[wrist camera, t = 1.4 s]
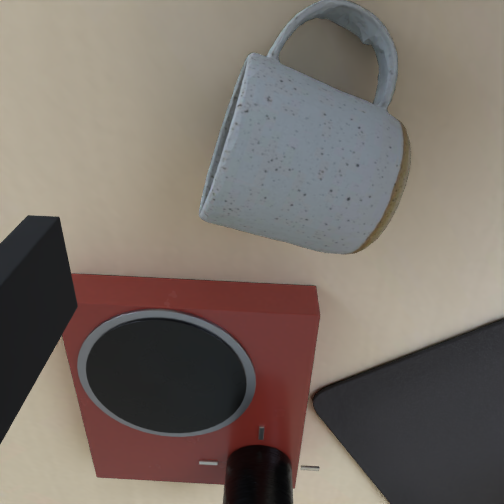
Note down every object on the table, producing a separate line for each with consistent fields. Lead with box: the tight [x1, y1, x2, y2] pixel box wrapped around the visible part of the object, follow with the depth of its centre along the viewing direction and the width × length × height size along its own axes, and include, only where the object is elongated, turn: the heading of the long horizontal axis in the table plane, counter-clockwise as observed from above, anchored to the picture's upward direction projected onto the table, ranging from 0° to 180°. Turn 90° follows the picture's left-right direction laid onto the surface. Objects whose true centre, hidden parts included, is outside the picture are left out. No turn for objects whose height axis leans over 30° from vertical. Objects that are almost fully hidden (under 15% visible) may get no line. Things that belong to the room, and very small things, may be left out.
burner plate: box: [77, 309, 256, 437], centre depth 30 cm, size 12×12×1 cm
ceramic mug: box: [199, 0, 411, 254], centre depth 21 cm, size 11×8×8 cm
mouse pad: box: [313, 319, 504, 504], centre depth 37 cm, size 23×20×1 cm
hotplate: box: [62, 274, 320, 489], centre depth 34 cm, size 18×20×3 cm
